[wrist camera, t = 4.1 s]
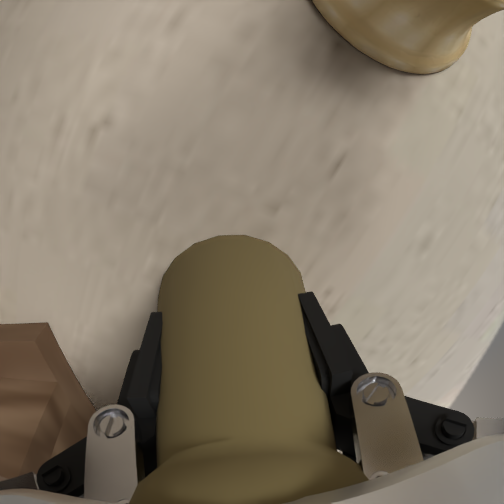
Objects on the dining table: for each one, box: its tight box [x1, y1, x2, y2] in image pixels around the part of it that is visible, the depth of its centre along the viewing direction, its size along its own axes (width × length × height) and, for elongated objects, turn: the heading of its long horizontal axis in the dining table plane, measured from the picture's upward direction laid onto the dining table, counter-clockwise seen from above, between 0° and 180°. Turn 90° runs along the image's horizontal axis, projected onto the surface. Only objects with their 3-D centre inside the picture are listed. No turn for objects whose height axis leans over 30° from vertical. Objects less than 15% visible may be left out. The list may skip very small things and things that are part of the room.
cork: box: [129, 235, 369, 504], centre depth 8 cm, size 6×6×11 cm
